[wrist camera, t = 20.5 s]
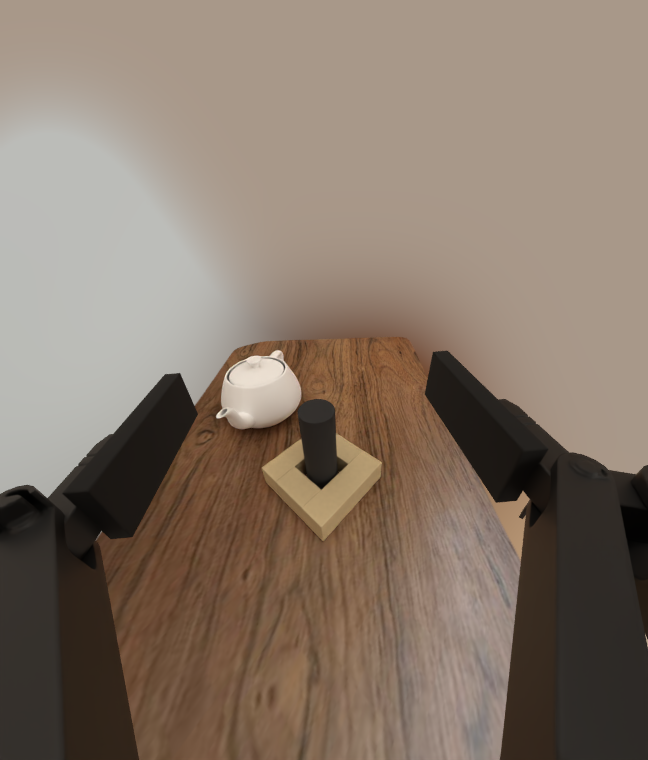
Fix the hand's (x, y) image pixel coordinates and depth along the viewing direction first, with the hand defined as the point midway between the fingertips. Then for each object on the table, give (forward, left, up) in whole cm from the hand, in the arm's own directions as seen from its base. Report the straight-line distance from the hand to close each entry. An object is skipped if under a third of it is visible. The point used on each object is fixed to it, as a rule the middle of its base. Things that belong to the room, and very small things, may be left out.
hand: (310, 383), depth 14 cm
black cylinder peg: (+7, -6, -22) cm, 24 cm away
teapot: (+25, -9, -22) cm, 35 cm away
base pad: (+7, -6, -22) cm, 24 cm away
